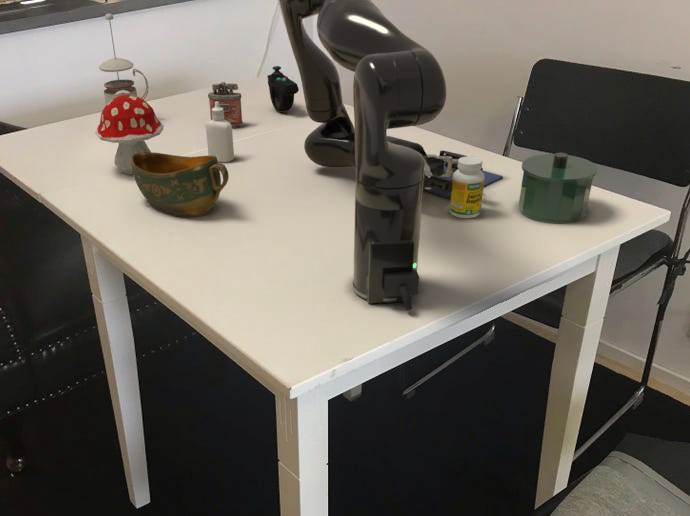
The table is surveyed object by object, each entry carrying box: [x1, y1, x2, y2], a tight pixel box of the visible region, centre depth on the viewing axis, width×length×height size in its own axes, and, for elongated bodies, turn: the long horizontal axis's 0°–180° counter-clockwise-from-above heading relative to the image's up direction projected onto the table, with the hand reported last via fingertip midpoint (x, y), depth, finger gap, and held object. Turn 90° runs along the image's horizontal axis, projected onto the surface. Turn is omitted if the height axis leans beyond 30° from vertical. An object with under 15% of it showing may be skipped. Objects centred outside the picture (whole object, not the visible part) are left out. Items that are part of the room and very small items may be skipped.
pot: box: [518, 171, 594, 224], centre depth 133 cm, size 11×11×8 cm
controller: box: [266, 65, 300, 113], centre depth 187 cm, size 4×12×10 cm, turn 22°
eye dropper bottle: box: [205, 102, 235, 163], centre depth 160 cm, size 4×6×12 cm
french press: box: [98, 13, 149, 106], centre depth 180 cm, size 10×12×25 cm
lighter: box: [207, 81, 244, 129], centre depth 180 cm, size 8×3×10 cm, turn 73°
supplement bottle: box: [449, 155, 485, 219], centre depth 133 cm, size 5×5×10 cm
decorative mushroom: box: [94, 95, 165, 175], centre depth 157 cm, size 14×14×15 cm
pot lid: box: [521, 152, 599, 182], centre depth 130 cm, size 12×12×3 cm
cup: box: [131, 151, 230, 218], centre depth 140 cm, size 13×20×10 cm, turn 28°
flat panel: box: [423, 167, 504, 200], centre depth 148 cm, size 12×15×1 cm
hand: (466, 180), depth 132 cm, fingers open, 8 cm apart
